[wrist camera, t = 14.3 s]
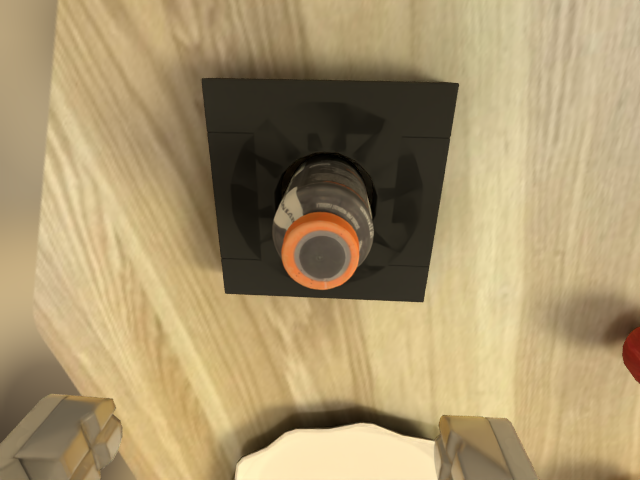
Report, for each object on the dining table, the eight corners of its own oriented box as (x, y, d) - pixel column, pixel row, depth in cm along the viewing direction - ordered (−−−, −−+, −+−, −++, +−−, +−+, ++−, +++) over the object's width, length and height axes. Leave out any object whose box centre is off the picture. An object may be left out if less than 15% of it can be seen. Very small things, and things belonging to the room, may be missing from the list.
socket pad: (215, 77, 25) (200, 78, 23) (446, 82, 25) (459, 83, 22) (234, 275, 32) (224, 294, 29) (416, 282, 31) (423, 302, 29)
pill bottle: (274, 180, 28) (236, 241, 18) (338, 137, 27) (337, 176, 16) (317, 239, 30) (305, 324, 20) (379, 202, 28) (401, 274, 18)
